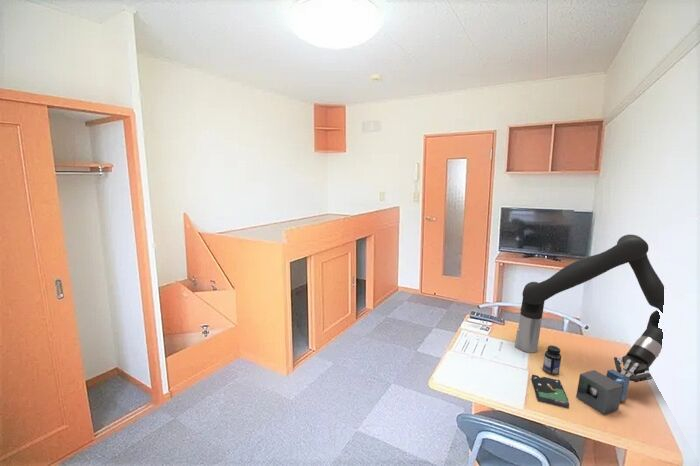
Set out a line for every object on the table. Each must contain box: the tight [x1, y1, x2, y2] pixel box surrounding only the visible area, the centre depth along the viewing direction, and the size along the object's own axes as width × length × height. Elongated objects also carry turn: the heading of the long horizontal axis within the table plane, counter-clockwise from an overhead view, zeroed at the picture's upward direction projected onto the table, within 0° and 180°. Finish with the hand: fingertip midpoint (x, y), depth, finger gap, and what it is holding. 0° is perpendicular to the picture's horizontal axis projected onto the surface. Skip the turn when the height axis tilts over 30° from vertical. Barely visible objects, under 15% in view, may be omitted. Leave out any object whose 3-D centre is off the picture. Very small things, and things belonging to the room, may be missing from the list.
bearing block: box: [575, 369, 623, 416], centre depth 122 cm, size 8×10×10 cm
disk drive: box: [531, 374, 570, 409], centre depth 128 cm, size 10×3×15 cm
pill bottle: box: [542, 344, 562, 376], centre depth 141 cm, size 6×6×11 cm
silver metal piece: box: [589, 368, 631, 402], centre depth 123 cm, size 15×6×9 cm, turn 111°
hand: (619, 385), depth 126 cm, fingers closed
